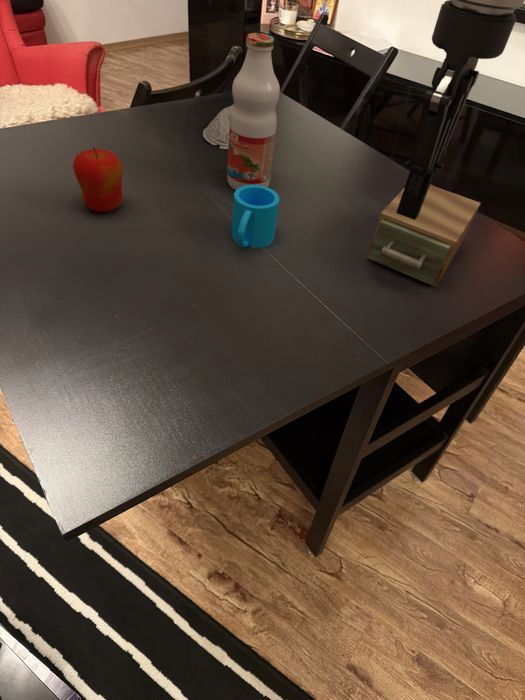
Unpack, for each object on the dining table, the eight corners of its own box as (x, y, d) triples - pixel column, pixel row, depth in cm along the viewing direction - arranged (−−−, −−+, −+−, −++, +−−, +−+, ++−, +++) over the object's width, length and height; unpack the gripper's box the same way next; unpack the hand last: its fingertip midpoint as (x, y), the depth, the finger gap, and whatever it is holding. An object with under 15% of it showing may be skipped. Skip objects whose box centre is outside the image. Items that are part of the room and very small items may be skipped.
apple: (97, 223, 89) (87, 162, 80) (71, 204, 92) (59, 144, 84) (135, 208, 94) (129, 149, 85) (109, 191, 97) (101, 132, 88)
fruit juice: (277, 189, 104) (297, 42, 84) (241, 198, 100) (252, 46, 80) (254, 170, 109) (267, 27, 89) (218, 178, 105) (224, 30, 85)
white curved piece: (287, 120, 129) (287, 94, 124) (243, 159, 114) (242, 130, 109) (237, 111, 134) (235, 85, 129) (188, 147, 119) (185, 119, 114)
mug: (240, 219, 95) (243, 180, 89) (279, 230, 94) (285, 192, 88) (216, 251, 87) (218, 211, 81) (259, 263, 85) (263, 224, 80)
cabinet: (435, 287, 86) (456, 242, 79) (366, 258, 90) (381, 212, 83) (460, 245, 96) (480, 202, 89) (397, 221, 100) (412, 178, 93)
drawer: (424, 297, 82) (441, 260, 76) (359, 269, 86) (370, 232, 80) (456, 246, 94) (472, 211, 89) (397, 223, 98) (410, 188, 92)
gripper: (462, -10, 53) (398, 187, 70) (424, 5, 45) (363, 224, 62) (530, 4, 51) (447, 205, 68) (504, 23, 43) (417, 245, 60)
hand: (407, 214), depth 65 cm, fingers closed
